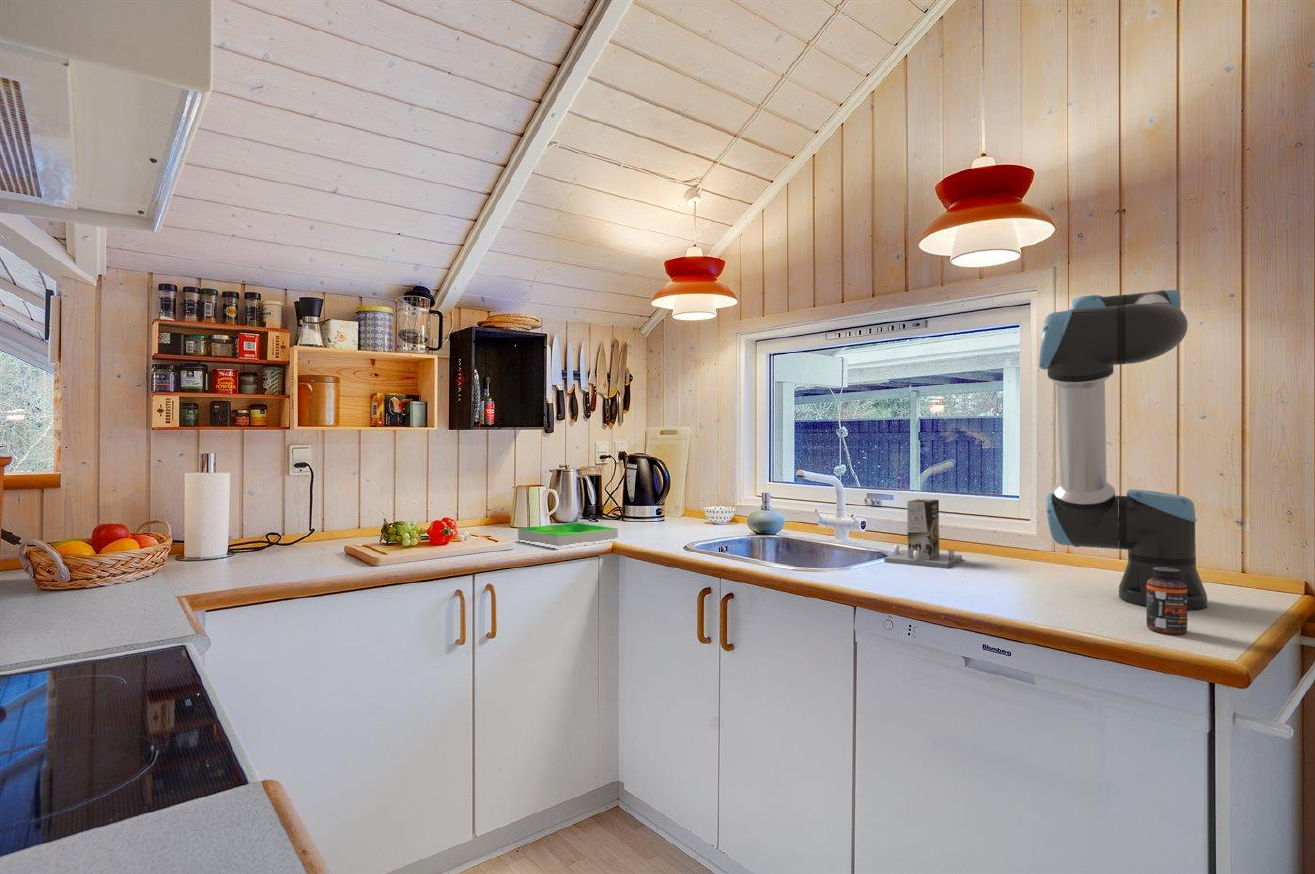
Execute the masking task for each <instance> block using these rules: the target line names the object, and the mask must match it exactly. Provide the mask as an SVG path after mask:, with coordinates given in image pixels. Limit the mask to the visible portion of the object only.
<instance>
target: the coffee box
mask: <svg viewBox="0 0 1315 874" xmlns="http://www.w3.org/2000/svg"><path fill="white" fill-rule="evenodd" d="M939 503H940V502H939V499H927V498H926V499H924V498H923V499H913V500H908V501H907V505H906V507H907V509H906V510H907V511H906V512H907V515H906V516H907V526H906V527H907V529H906V530H907V550H908V557H910V558H914V551H919V559H927V560H929V559H932V558H934V557H936V556H939V553H940V517H939V516H940V512H939V511H940V507H939Z"/></svg>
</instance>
